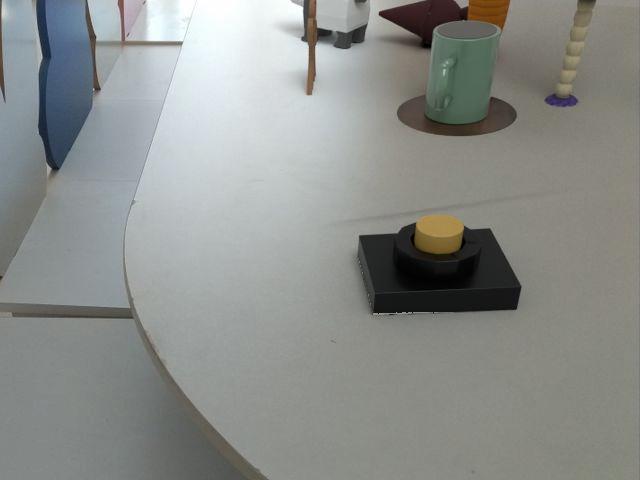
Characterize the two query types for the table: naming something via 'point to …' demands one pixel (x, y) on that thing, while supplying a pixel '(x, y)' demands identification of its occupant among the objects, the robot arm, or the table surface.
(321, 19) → the giant panda
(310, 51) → the gingerbread man figurine
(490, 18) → the carrot
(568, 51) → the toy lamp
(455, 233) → the bell button
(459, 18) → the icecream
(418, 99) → the disc
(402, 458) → the table surface
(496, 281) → the block
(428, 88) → the mug
